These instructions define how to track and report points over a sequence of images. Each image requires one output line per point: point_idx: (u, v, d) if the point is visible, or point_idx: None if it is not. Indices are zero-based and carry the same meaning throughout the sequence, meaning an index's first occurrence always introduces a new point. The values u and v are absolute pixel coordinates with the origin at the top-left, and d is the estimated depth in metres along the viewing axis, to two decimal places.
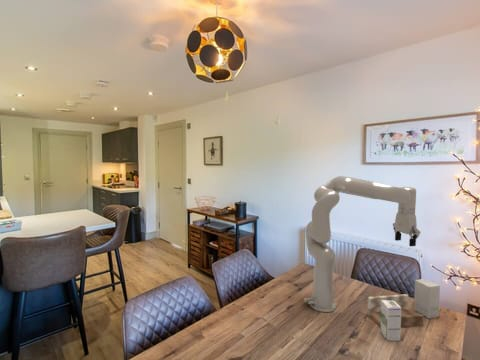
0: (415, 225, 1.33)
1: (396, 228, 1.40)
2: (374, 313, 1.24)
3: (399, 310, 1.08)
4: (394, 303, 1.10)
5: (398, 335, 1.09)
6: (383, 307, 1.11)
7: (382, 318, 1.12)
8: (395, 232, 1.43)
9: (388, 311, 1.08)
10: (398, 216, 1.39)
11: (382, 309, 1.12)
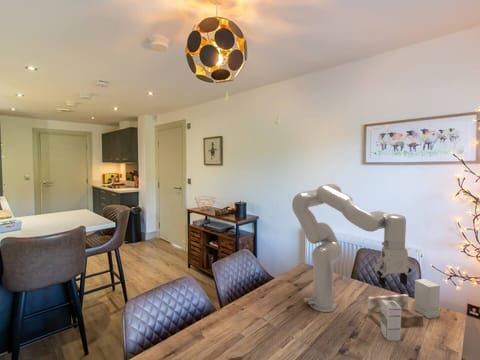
0: None
1: (391, 271, 1.06)
2: (374, 313, 1.24)
3: (399, 310, 1.08)
4: (394, 303, 1.10)
5: (398, 335, 1.09)
6: (383, 307, 1.11)
7: (382, 318, 1.12)
8: None
9: (388, 311, 1.08)
10: (393, 254, 1.06)
11: (382, 309, 1.12)
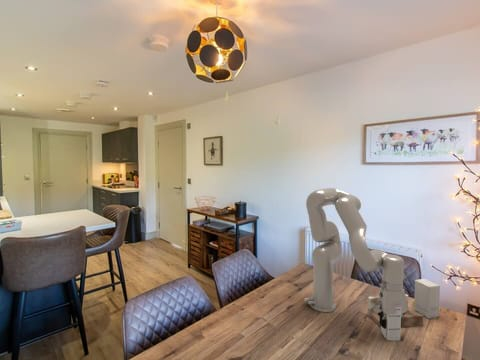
0: None
1: (389, 312, 1.07)
2: (374, 313, 1.24)
3: (399, 310, 1.08)
4: None
5: (398, 335, 1.08)
6: None
7: None
8: (383, 318, 1.09)
9: None
10: (391, 296, 1.07)
11: None
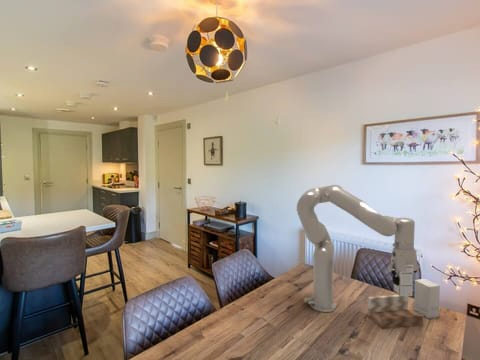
0: None
1: (401, 269, 1.17)
2: (374, 313, 1.24)
3: (411, 268, 1.17)
4: None
5: (410, 291, 1.18)
6: None
7: None
8: (396, 276, 1.18)
9: None
10: (403, 254, 1.17)
11: None
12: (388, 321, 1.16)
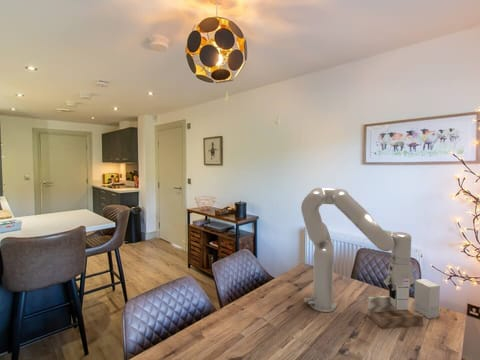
0: None
1: (398, 283, 1.19)
2: (374, 313, 1.24)
3: (407, 282, 1.19)
4: None
5: (406, 305, 1.20)
6: None
7: None
8: (393, 290, 1.21)
9: None
10: (400, 269, 1.18)
11: None
12: (388, 321, 1.16)
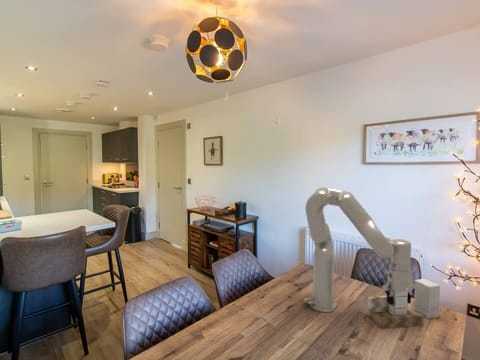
0: None
1: (397, 290, 1.19)
2: (374, 313, 1.24)
3: (406, 291, 1.19)
4: None
5: (405, 313, 1.20)
6: None
7: None
8: (390, 296, 1.21)
9: None
10: (399, 276, 1.19)
11: (390, 291, 1.24)
12: (388, 321, 1.16)
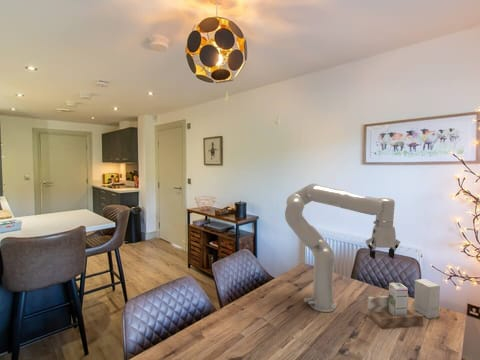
0: None
1: (380, 245, 1.26)
2: (374, 313, 1.24)
3: (406, 291, 1.19)
4: (401, 285, 1.22)
5: (405, 313, 1.20)
6: (391, 289, 1.23)
7: (390, 299, 1.24)
8: (373, 250, 1.27)
9: (396, 292, 1.19)
10: (382, 231, 1.25)
11: (390, 291, 1.24)
12: (388, 321, 1.16)
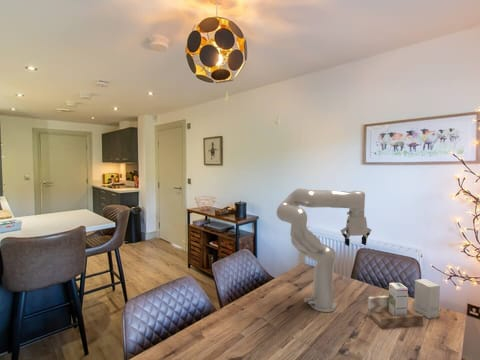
0: None
1: (353, 233, 1.40)
2: (374, 313, 1.24)
3: (406, 291, 1.19)
4: (401, 285, 1.22)
5: (405, 313, 1.20)
6: (391, 289, 1.23)
7: (390, 299, 1.24)
8: (347, 238, 1.41)
9: (396, 292, 1.19)
10: (355, 221, 1.39)
11: (390, 291, 1.24)
12: (388, 321, 1.16)
